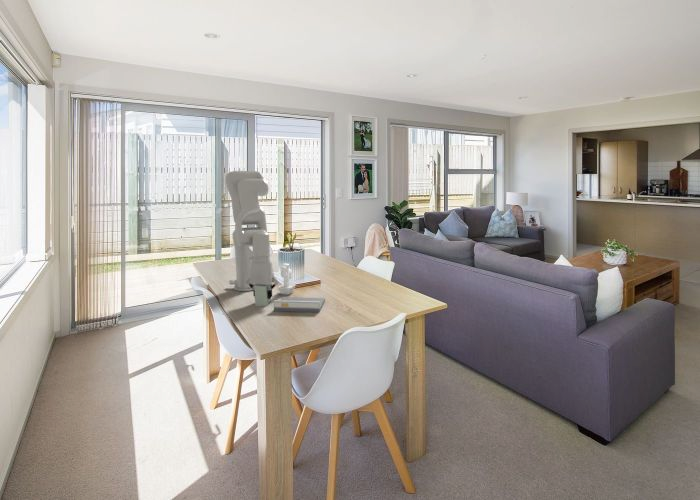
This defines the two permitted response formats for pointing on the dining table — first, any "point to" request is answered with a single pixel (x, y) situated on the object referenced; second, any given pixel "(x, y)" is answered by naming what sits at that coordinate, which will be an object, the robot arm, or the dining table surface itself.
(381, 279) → the dining table surface
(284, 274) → the figurine
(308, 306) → the grey flat box
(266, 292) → the tea box
